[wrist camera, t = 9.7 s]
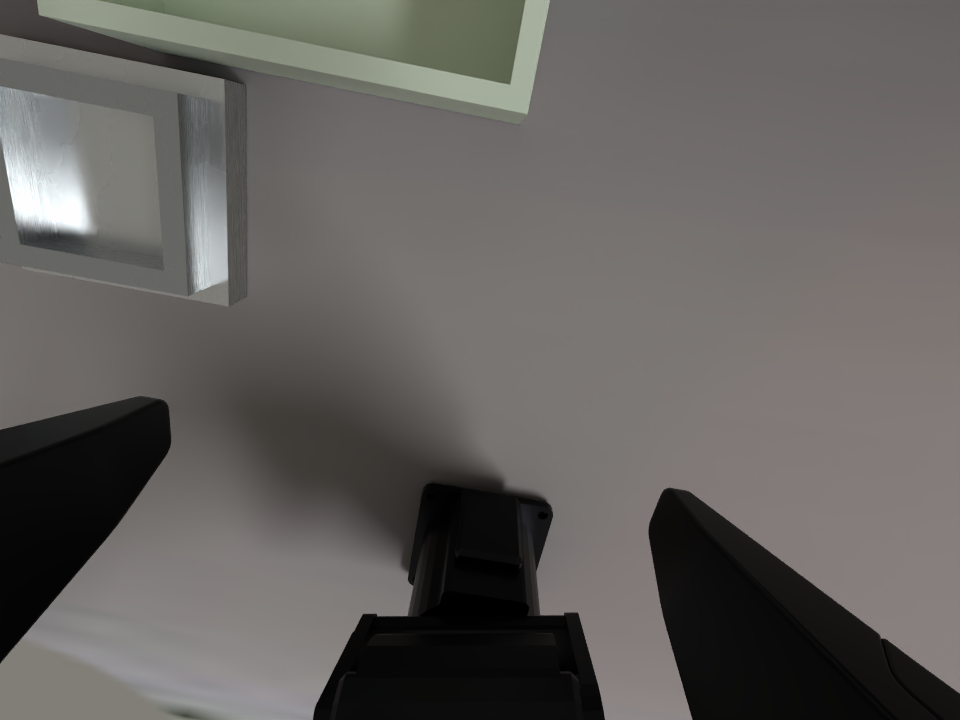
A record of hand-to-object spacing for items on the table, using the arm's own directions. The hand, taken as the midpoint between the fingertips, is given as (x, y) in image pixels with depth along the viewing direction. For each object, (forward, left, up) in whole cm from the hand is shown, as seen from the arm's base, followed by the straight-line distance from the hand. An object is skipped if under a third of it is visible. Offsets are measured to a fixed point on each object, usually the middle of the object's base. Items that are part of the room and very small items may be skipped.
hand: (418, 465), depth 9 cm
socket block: (+2, +13, -12) cm, 18 cm away
